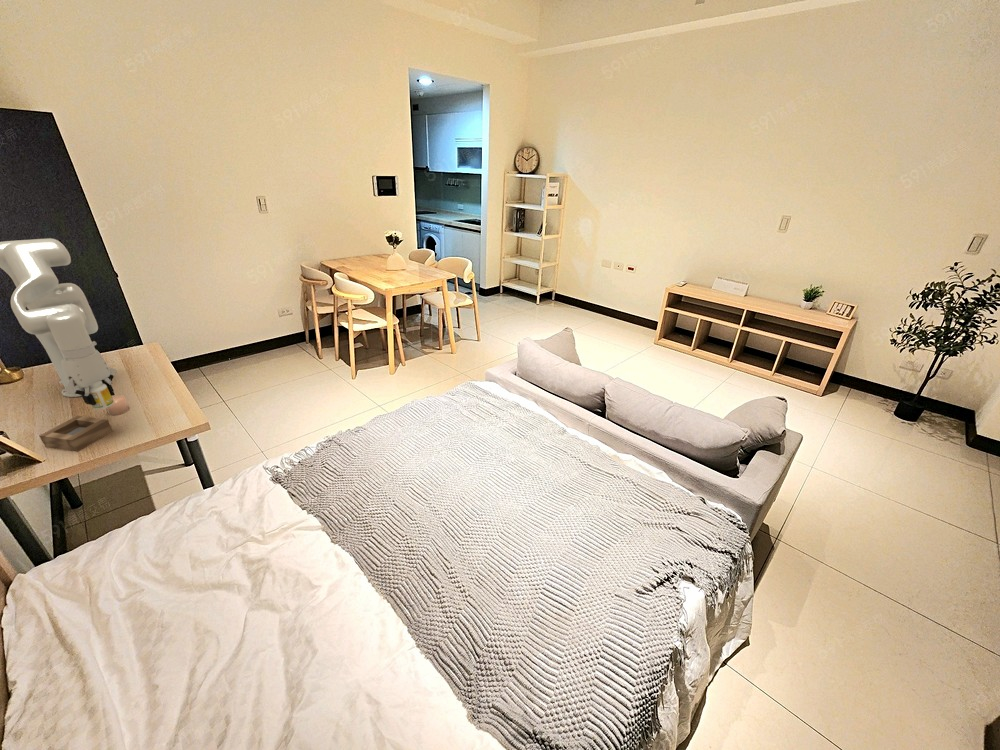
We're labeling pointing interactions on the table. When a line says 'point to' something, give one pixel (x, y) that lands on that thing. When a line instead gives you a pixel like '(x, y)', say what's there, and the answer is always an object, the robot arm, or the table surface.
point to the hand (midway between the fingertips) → (100, 399)
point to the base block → (76, 433)
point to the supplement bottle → (100, 395)
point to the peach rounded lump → (118, 406)
